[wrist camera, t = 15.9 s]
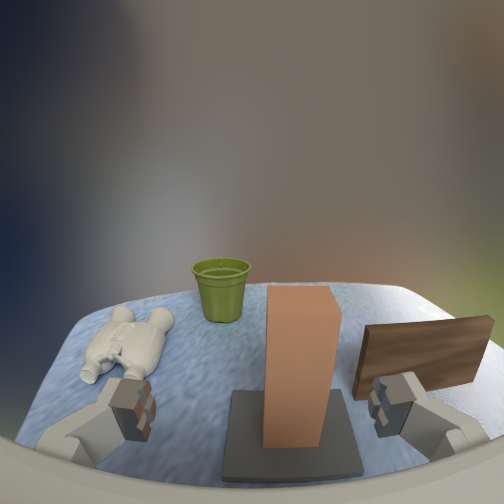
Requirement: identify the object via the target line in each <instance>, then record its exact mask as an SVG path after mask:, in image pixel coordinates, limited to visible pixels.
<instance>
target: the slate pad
mask: <svg viewBox="0 0 504 504" xmlns="http://www.w3.org/2000/svg"><path fill="white" fill-rule="evenodd" d="M263 415H264V391H244V390H233V394H232V402H231V409H230V417H229V424H228V432H227V439H226V447H225V455H224V462H223V470H222V481H234V482H305V481H320V480H331V479H341V478H350V477H357V476H362V474H363V472H364V469H363V466H362V462H361V458H360V455H359V451H358V447H357V444H356V440H355V437H354V433H353V430H352V426H351V423H350V419H349V416H348V412H347V409H346V406H345V402H344V399H343V396H342V392H341V389H332V390H330V393H329V398H328V403H327V408H326V413H325V418H324V423H323V427H322V432H321V436H320V441H319V445H318V447H303V448H263Z"/></svg>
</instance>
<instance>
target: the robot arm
mask: <svg viewBox="0 0 504 504" xmlns="http://www.w3.org/2000/svg"><path fill="white" fill-rule="evenodd" d="M372 386H373V388H374V390H373V391H372V392H371V393H370V395H369V400H368V409H369V413H370V416H371V417H372V418H373V419H375V420H376V421H375V424H374V427H375V429H376V432H377V435H378V437H379V438H383V437H389V436H395V435H399V436H400V437H402V438H403V439H404V440H405V441H407V442H408V443H409V444H410V445H412V446H413V447H414V448H415V449H417V450H418V451H419V452H420V453H422V454H423V455H424V456H425V457H427V458H428V459H429V460H430V461H429V463H426V464H423V465H419V466H416V467H412V468H408V469H404V470H400V471H396V472H392V473H388V474H383V475H378V476H373V477H368V478H363V479H357V480H351V481H344V482H337V483H330V484H321V485H312V486H300V487H285V488H216V487H201V486H190V485H181V484H172V483H165V482H158V481H151V480H145V479H139V478H134V477H129V476H124V475H119V474H114V473H110V472H106V471H102V470H98V469H97V468H96V467H95V466H96V465H97V464H99V463H100V462H101V461H102V460H103V459H105V458H106V457H107V456H108V455H109V454H111V453H112V452H113V451H114V450H115V449H116V448H118V447H119V446H120V445H121V444H122V443H124V442H125V440H131V441H139V442H147V440H148V437H149V434H150V431H151V429H150V426H149V424H150V423H151V422H153V421H154V418H155V414H156V403H155V399H154V397H153V396H152V395H151V394H150V392H151V390H152V388H151V385H150V382H148V381H143V380H135V379H128V378H119V377H110V378H109V379H108V381H107V382H106V384H105V386H104V388H103V389H102V391H101V393H100V395H99V397H98V398H97V400H96V402H95V404H93V403H91V404H89V405H87V406H86V407H84V408H82V409H80V410H78V411H77V412H75V413H73V414H71V415H69V416H68V417H66V418H64V419H62V420H60V421H59V422H57V423H55V424H53V425H51V426H49V427H47V428H46V429H45V431H44V432H43V434H42V436H41V437H40V439H39V441H38V442H37V444H36V446H35V447H34V449H31V448H29V447H26V446H24V445H21V444H19V443H16V442H14V441H12V440H9V439H7V438H5V437H3V436H1V435H0V504H504V435H502V436H499V437H497V438H495V439H493V440H490V438H489V437H488V435H487V434H486V432H485V431H484V429H483V427H482V426H481V424H480V423H479V421H478V420H476V419H474V418H472V417H470V416H468V415H466V414H464V413H462V412H460V411H458V410H456V409H455V408H453V407H451V406H449V405H447V404H445V403H443V402H441V401H439V400H437V399H435V398H433V397H431V398H429V396H428V395H427V393H426V391H425V390H424V388H423V386H422V385H421V383H420V382H419V380H418V378H417V377H416V375H415V374H414V372H412V371H410V372H404V373H400V374H393V375H387V376H380V377H375V379H374V381H373V384H372Z"/></svg>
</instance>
